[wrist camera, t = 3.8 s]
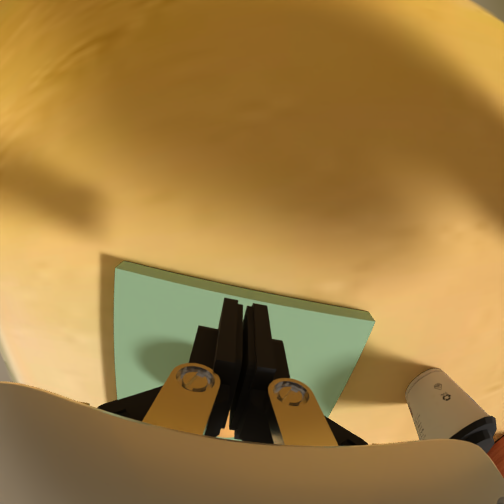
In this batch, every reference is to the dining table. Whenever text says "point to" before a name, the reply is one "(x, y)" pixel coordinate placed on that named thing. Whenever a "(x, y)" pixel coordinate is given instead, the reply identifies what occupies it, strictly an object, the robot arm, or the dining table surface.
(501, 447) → the potted plant
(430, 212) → the dining table surface
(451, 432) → the coffee cup
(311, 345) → the mat
